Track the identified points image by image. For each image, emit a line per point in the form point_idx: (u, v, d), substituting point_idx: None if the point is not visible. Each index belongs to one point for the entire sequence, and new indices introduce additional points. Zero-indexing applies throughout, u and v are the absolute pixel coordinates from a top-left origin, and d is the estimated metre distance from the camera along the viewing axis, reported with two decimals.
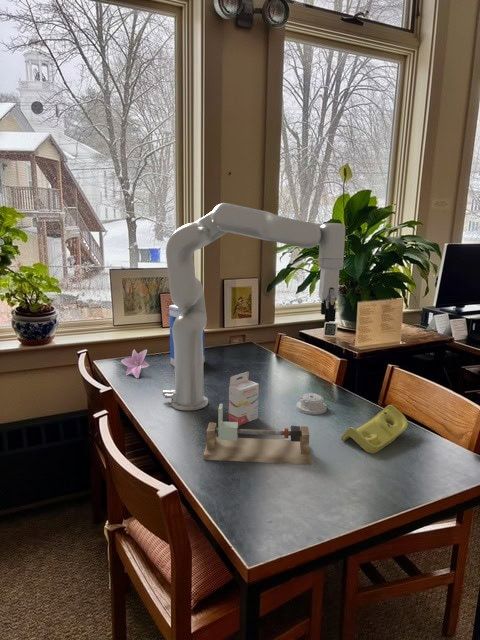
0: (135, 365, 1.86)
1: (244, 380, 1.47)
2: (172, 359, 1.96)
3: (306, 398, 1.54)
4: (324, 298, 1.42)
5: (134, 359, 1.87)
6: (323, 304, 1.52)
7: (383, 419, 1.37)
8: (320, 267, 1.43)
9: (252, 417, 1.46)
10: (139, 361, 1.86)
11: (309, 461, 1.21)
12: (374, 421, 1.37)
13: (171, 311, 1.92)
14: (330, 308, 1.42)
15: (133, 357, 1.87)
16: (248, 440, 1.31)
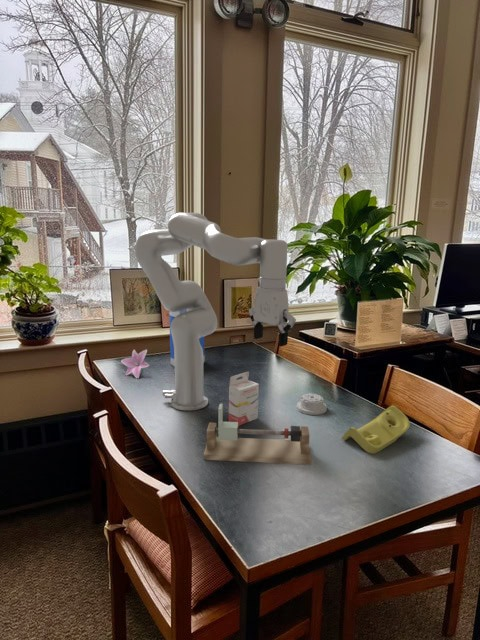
0: (135, 365, 1.86)
1: (244, 380, 1.47)
2: (172, 359, 1.96)
3: (306, 398, 1.53)
4: (279, 322, 1.30)
5: (134, 359, 1.86)
6: (257, 327, 1.38)
7: (385, 420, 1.37)
8: (269, 289, 1.29)
9: (252, 417, 1.46)
10: (139, 361, 1.86)
11: (309, 461, 1.21)
12: (376, 421, 1.37)
13: None
14: (286, 331, 1.31)
15: (133, 357, 1.87)
16: (248, 440, 1.31)
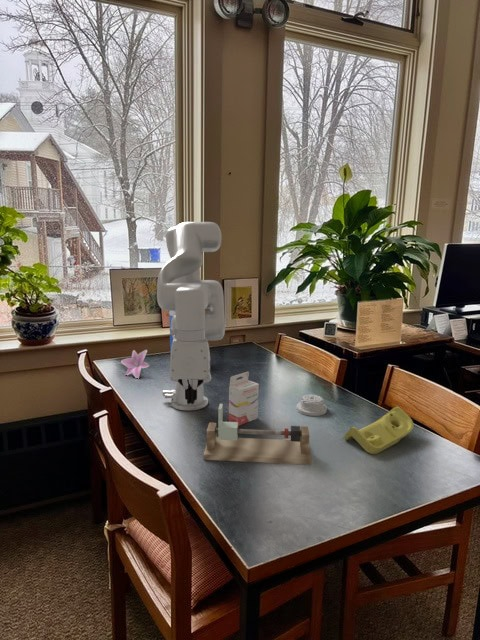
0: (135, 365, 1.86)
1: (244, 380, 1.47)
2: None
3: (306, 399, 1.53)
4: (208, 374, 1.20)
5: (134, 360, 1.86)
6: None
7: (388, 421, 1.36)
8: (194, 341, 1.17)
9: (252, 417, 1.46)
10: (139, 361, 1.85)
11: (309, 461, 1.21)
12: (379, 422, 1.37)
13: (171, 311, 1.92)
14: None
15: (133, 357, 1.86)
16: (248, 440, 1.31)
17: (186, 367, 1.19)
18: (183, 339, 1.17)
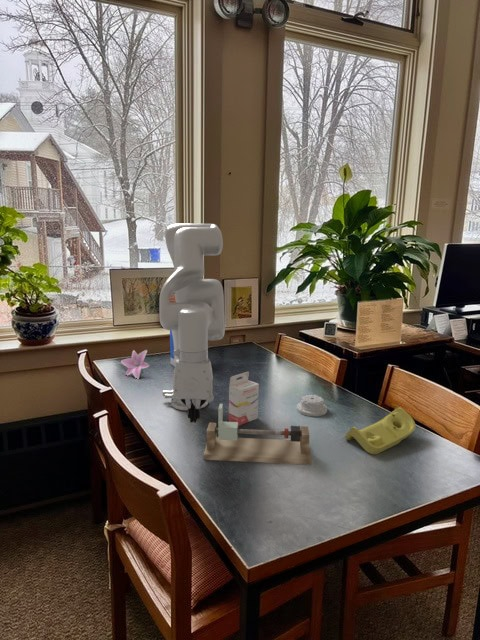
0: (135, 366, 1.86)
1: (244, 380, 1.47)
2: (172, 359, 1.96)
3: (306, 400, 1.52)
4: (211, 395, 1.22)
5: (134, 360, 1.86)
6: None
7: (390, 421, 1.36)
8: (197, 363, 1.19)
9: (252, 417, 1.46)
10: (139, 362, 1.85)
11: (309, 461, 1.21)
12: (381, 423, 1.36)
13: None
14: None
15: (133, 358, 1.86)
16: (248, 440, 1.31)
17: (189, 387, 1.21)
18: (186, 360, 1.19)
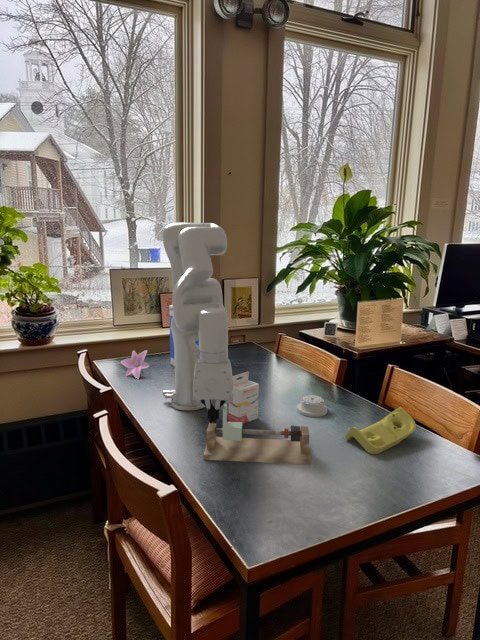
0: (135, 366, 1.85)
1: (244, 380, 1.47)
2: (172, 359, 1.96)
3: (306, 400, 1.52)
4: (231, 395, 1.21)
5: (134, 360, 1.86)
6: (212, 410, 1.24)
7: (390, 421, 1.36)
8: (218, 363, 1.18)
9: (252, 417, 1.46)
10: (139, 362, 1.85)
11: (309, 461, 1.21)
12: (381, 423, 1.36)
13: (171, 311, 1.92)
14: None
15: (133, 358, 1.86)
16: (248, 440, 1.31)
17: (209, 388, 1.21)
18: (206, 361, 1.18)
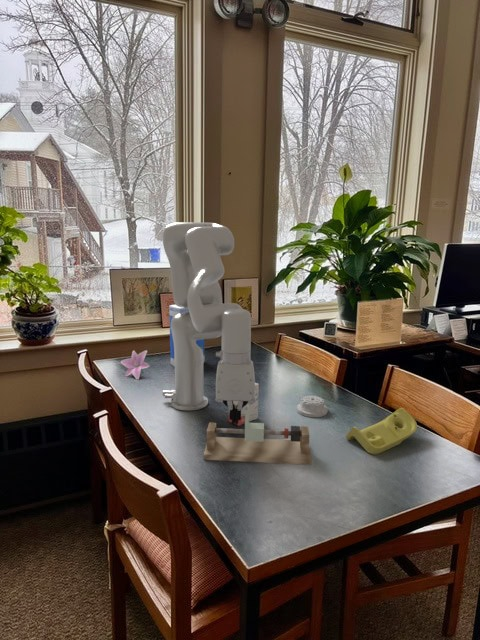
0: (135, 366, 1.85)
1: None
2: (172, 359, 1.96)
3: (307, 400, 1.52)
4: (254, 396, 1.21)
5: (134, 360, 1.85)
6: None
7: (391, 421, 1.35)
8: (241, 364, 1.18)
9: (252, 417, 1.46)
10: (139, 362, 1.85)
11: (309, 461, 1.21)
12: (382, 423, 1.36)
13: (171, 311, 1.92)
14: None
15: (133, 358, 1.86)
16: None
17: (232, 389, 1.20)
18: (230, 362, 1.18)
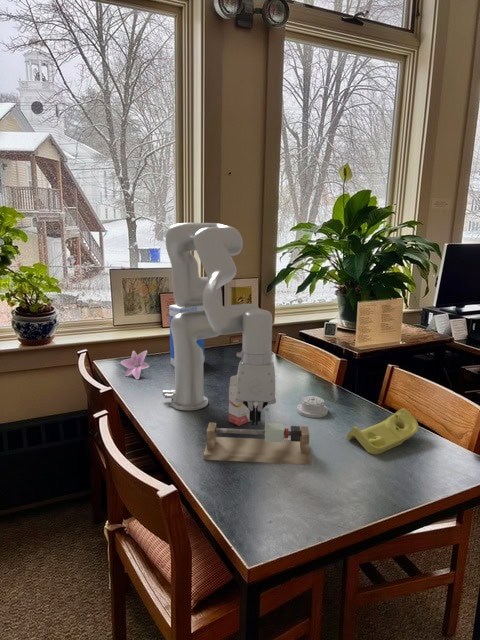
0: (135, 366, 1.85)
1: None
2: (172, 359, 1.96)
3: (307, 401, 1.51)
4: (274, 397, 1.21)
5: (134, 360, 1.85)
6: None
7: (393, 422, 1.35)
8: (262, 365, 1.18)
9: None
10: (139, 362, 1.85)
11: (309, 461, 1.21)
12: (383, 423, 1.36)
13: (171, 311, 1.92)
14: None
15: (133, 358, 1.85)
16: (248, 440, 1.31)
17: (253, 390, 1.20)
18: (251, 363, 1.17)
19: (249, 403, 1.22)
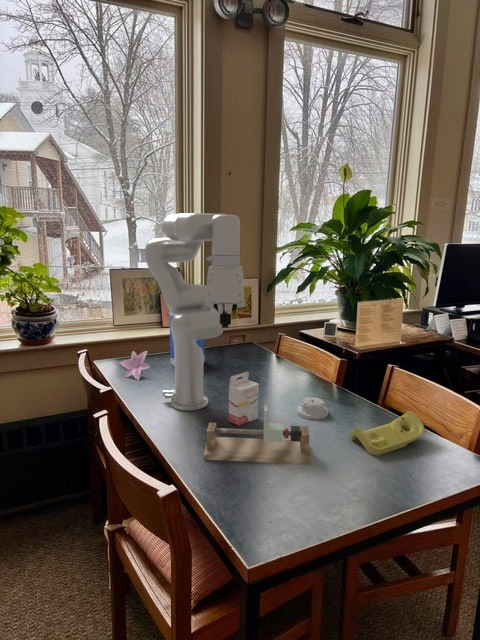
0: (135, 367, 1.84)
1: (244, 380, 1.47)
2: (172, 359, 1.96)
3: (307, 402, 1.50)
4: (243, 299, 1.27)
5: (134, 361, 1.84)
6: None
7: (398, 424, 1.34)
8: (230, 266, 1.24)
9: (252, 417, 1.46)
10: (139, 363, 1.84)
11: (309, 461, 1.21)
12: (389, 425, 1.35)
13: None
14: None
15: (132, 359, 1.85)
16: (248, 440, 1.31)
17: (222, 291, 1.26)
18: (220, 264, 1.24)
19: (219, 306, 1.28)
